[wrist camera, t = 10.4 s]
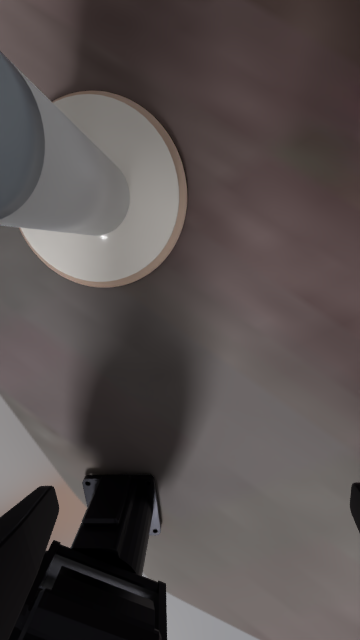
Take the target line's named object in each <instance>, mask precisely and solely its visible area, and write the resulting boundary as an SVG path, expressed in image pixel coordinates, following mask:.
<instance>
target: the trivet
mask: <svg viewBox="0 0 360 640" xmlns="http://www.w3.org/2000/svg"><path fill="white" fill-rule="evenodd" d="M52 103H53V104H54V105H55V106H56V107H57V108H58V109H59V110H60V111H61V112H63V113H64V114H65V115H66V116H67V117H68V118H69V119H70V120H71V121H72V122H73V123H74V124H75V125H76V126H77V127H78V128H79V129H80V130H81V131H82V132H83V133H84V134H85V135H86V136H87V137H88V138H89V139H90V140H91V141H92V142H93V143H94V144H95V145H96V146H97V147H98V148H99V149H100V150H101V151H102V152H103V153H104V154H105V155H106V156H107V157H108V158H109V159H110V160H111V161H112V162H113V163H114V164H115V165H116V166H117V167H118V168H119V169H120V170H121V172H122V173H123V175H124V177H125V178H126V181H127V184H128V187H129V193H130V203H129V209H128V212H127V215H126V217H125V219H124V220H123V222H122V223H121V224H120V225H119V226H118V227H117V228H116V229H115V230H113V231H112V232H110V233H108V234H104V235H99V236H92V235H83V234H74V233H65V232H56V231H47V230H38V229H29V228H20V227H19V229H20V231H21V233H22V235H23V236H24V238H25V240H26V242H27V243H28V245H29V246H30V247H31V249H32V250H33V252H34V253H35V254H36V255H37V256H38V257H39V258H40V260H42V261H43V262H44V263H45V264H46V265H47V266H48V267H49V268H51V269H52V270H53V271H55V272H56V273H58V274H59V275H61V276H63V277H65V278H67V279H68V280H71V281H73V282H76V283H78V284H82V285H86V286H91V287H99V288H105V287H117V286H122V285H126V284H129V283H132V282H134V281H137V280H139V279H141V278H143V277H144V276H146V275H148V274H149V273H151V272H152V271H153V270H155V269H156V268H157V267H158V266H159V265H160V264H161V263H162V262H163V261H164V260H165V259H166V258H167V257H168V255H169V254H170V252H171V251H172V250H173V248H174V246H175V244H176V242H177V241H178V239H179V236H180V234H181V231H182V228H183V225H184V221H185V217H186V210H187V185H186V177H185V173H184V169H183V165H182V161H181V159H180V156H179V153H178V151H177V148H176V147H175V145H174V143H173V141H172V139H171V137H170V136H169V134H168V133H167V132H166V130H165V129H164V127H163V126H162V125H161V124H160V123H159V122H158V121H157V120H156V118H155V117H154V116H153V115H152V114H150V113H149V112H148V111H147V110H145V109H144V108H143V107H142V106H140V105H138V104H137V103H135V102H133V101H132V100H130V99H127V98H125V97H122V96H120V95H117V94H113V93H109V92H104V91H94V90H93V91H80V92H75V93H71V94H67V95H65V96H63V97H60V98H58V99H56V100H54V101H52Z"/></svg>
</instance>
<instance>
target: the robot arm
mask: <svg viewBox="0 0 360 640" xmlns="http://www.w3.org/2000/svg"><path fill="white" fill-rule="evenodd" d="M149 481H150V482H149ZM82 484H83V489H84V493H85V498H86V502H87V507H88V508H87V510H86V513H85V515H84V517H83V520H82V523H81V525H80V528H79V530H78V532H77V534H76V537H75V539H74V542H73V544H72V546H71V548H68V547H66V546H63V545H61V544H60V542H58V541H55V540H54V541H53V542H52V544H51V546H50V548H49V550H48V551H46V548H47V545H48V542H49V539H50V536H51V533H52V531H53V528H54V525H55V522H56V519H57V516H58V512H59V504H58V500H57V496H56V492H55V489H54V487H52V486H40V487H38V488H37V489H36V490H34V491H33V492H32V493H31V494H29V495H28V496H27V497H25V498H24V499H23V500H22V501H20V502H19V503H18V504H17V505H15V506H14V507H13V508H12V509H10V510H9V511H8V512H7V513H5V514H4V515H3V516H2V517H0V640H167V615H166V583H163V582H161V581H158V582H156V581H154V580H151V579H149V578H146V577H143V576H142V573H143V567H144V561H145V556H146V550H147V544H148V538H149V535H159V534H160V532H161V522H160V514H159V507H158V500H157V492H156V485H155V478H154V477H153V476H152V475H88V476H86V477H85V478H84V480H83V482H82ZM350 510H351V513H352V516H353V518H354V521H355V523H356V526H357V528H358V530H359V533H360V483H353V484H352V487H351V498H350Z"/></svg>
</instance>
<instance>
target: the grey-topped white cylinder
mask: <svg viewBox="0 0 360 640" xmlns="http://www.w3.org/2000/svg"><path fill="white" fill-rule="evenodd" d="M129 203H130V193H129V187H128V184H127V181H126V178H125V177H124V175H123V173H122V172H121V170H120V169H119V168H118V167H117V166H116V165H115V164H114V163H113V162H112V161H111V160H110V159H109V158H108V157H107V156H106V155H105V154H104V153H103V152H102V151H101V150H100V149H99V148H98V147H97V146H96V145H95V144H94V143H93V142H92V141H91V140H90V139H89V138H88V137H87V136H86V135H85V134H84V133H83V132H82V131H81V130H80V129H79V128H78V127H77V126H76V125H75V124H74V123H73V122H72V121H71V120H70V119H69V118H68V117H67V116H66V115H65V114H64V113H63V112H61V111H60V110H59V109H58V108H57V107H56V106H55V105H54V104H53V103H52V102H51V101H50V100H49V99H48V98H47V97H46V96H45V95H44V94H43V93H42V92H41V91H40V90H39V89H38V88H37V87H36V86H35V85H34V84H33V83H32V82H31V81H30V80H29V79H28V78H27V77H26V76H25V75H24V74H23V73H22V72H21V71H20V70H19V69H18V68H17V67H16V66H15V65H14V64H13V63H12V62H11V61H10V60H9V59H8V58H7V57H6V56H5V55H4V54H3V53H1V52H0V225H2V226H11V227H20V228H29V229H38V230H47V231H56V232H65V233H74V234H83V235H92V236H99V235H104V234H108V233H110V232H112V231H113V230H115V229H116V228H117V227H118V226H119V225H120V224H121V223H122V222H123V220H124V219H125V217H126V215H127V212H128V209H129Z"/></svg>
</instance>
